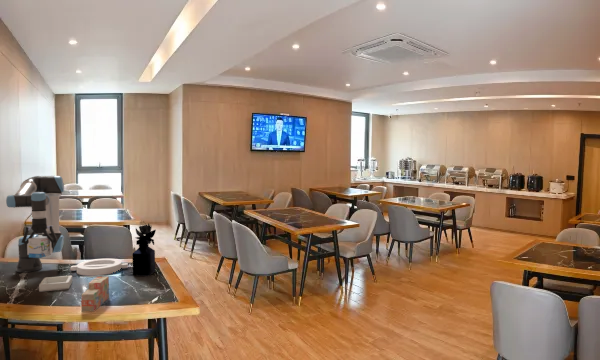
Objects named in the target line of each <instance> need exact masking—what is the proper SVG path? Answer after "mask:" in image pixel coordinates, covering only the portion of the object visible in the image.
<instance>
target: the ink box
mask: <svg viewBox="0 0 600 360" xmlns="http://www.w3.org/2000/svg"><path fill="white" fill-rule="evenodd" d="M28 240H29V257H32V258H40V259H42V258H45V257H51V256H52V253H50V242H51V241H50V240H49V239H48V238H47V236H42V235H38V237H34V238H29V239H28Z"/></svg>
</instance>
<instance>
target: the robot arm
mask: <svg viewBox="0 0 600 360" xmlns="http://www.w3.org/2000/svg"><path fill="white" fill-rule="evenodd" d="M62 193H65V184H64V180H63V177H62V176H60V175H35V176H32V177H28V178H27V179H24V180H23V181H22V182H21V184H20V187H19V189H18V190H17V191H16V192H15V194H10V195H7V196H6V200H5V201H6V206H7V208H31V218H32V219H31V226H26V227H25V232H24V235H23V236H22V237H20V238H18V244H17V246H18V260H17V264H16V267H15V272H17V273H29V272H30V273H32V272H36V271H40V270H42V269H43V263H42V260H41V258H32V257H29V240H28V239H29V238H34V237H38V236H39V234H41V236H47V238H48V239H49V240H50V241H51V242H50V253H51V254H52V253H53V254H55V253H60V252H61V251H62V250H63V246H64V241H65V239H64V238H65V236H64V235H63V234H62V232H61V231H60V197H61V196H62ZM31 230H32V232H31V234H29V233H30V231H31ZM28 234H29V235H28Z"/></svg>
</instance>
